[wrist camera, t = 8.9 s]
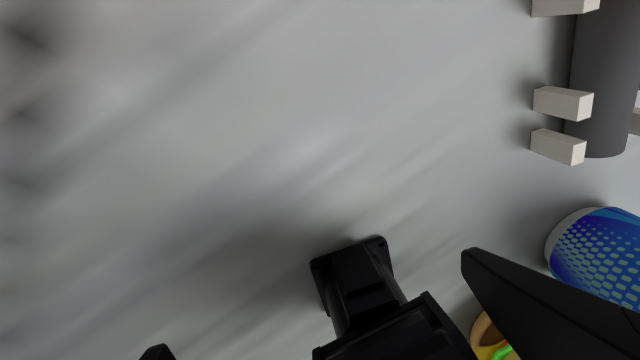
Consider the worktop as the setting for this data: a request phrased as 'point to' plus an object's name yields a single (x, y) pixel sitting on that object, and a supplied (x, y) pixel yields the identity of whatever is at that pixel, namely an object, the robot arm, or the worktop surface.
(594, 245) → the beer can
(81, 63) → the worktop surface
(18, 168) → the worktop surface
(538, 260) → the worktop surface
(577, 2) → the cream arch-shaped block
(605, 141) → the stamp-like rod
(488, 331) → the hamburger
